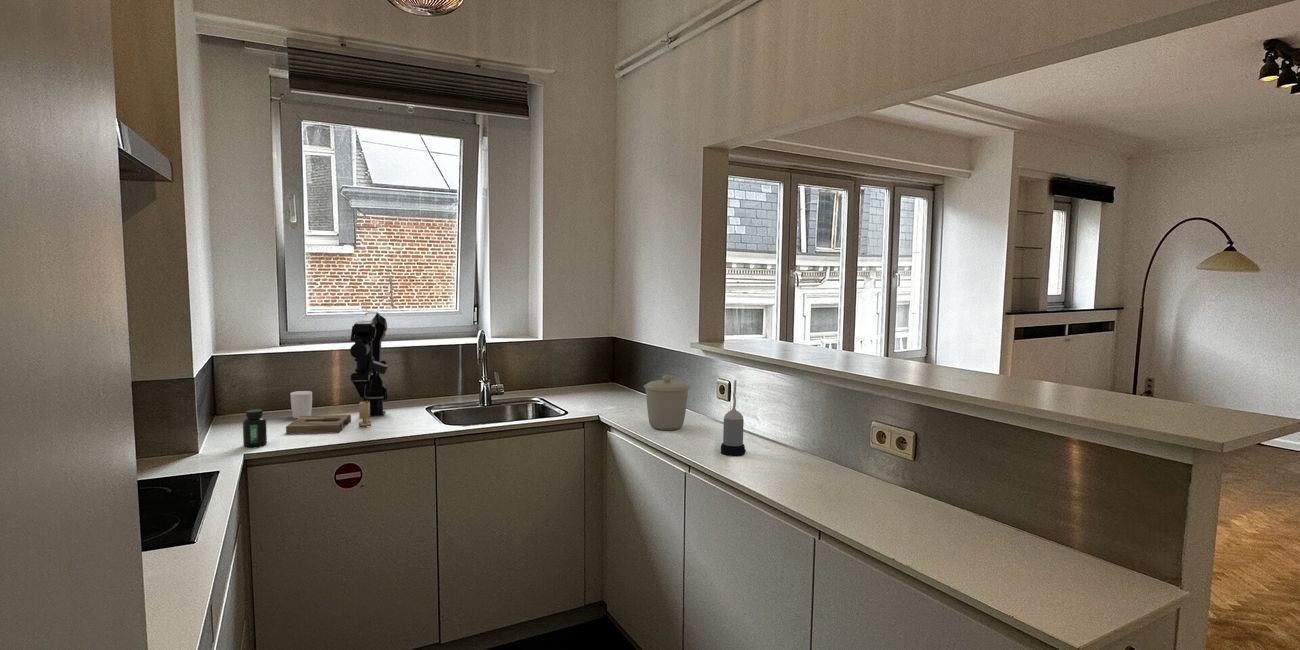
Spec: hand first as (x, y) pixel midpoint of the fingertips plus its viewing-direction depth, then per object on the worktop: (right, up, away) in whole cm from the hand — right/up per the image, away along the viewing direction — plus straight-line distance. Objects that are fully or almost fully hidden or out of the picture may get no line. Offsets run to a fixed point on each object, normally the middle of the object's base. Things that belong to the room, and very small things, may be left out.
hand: (365, 395), depth 251 cm
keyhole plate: (-16, -12, -2) cm, 20 cm away
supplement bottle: (-25, -14, -29) cm, 40 cm away
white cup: (-32, -11, +15) cm, 37 cm away
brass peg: (-1, -12, +1) cm, 12 cm away
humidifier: (+138, -17, -29) cm, 142 cm away
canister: (+116, -14, +6) cm, 117 cm away
